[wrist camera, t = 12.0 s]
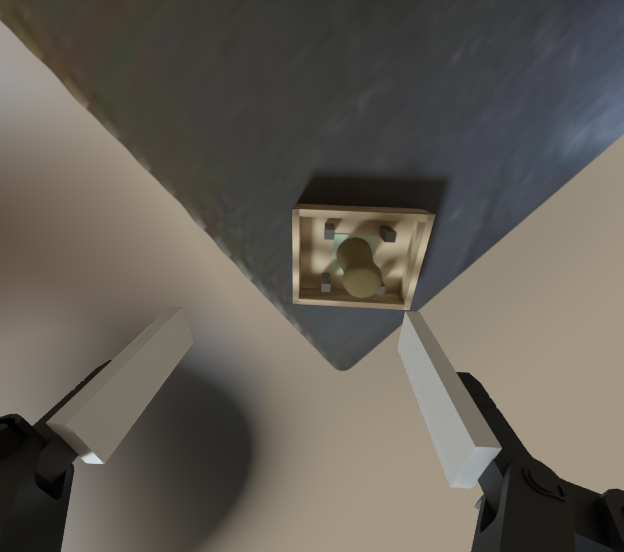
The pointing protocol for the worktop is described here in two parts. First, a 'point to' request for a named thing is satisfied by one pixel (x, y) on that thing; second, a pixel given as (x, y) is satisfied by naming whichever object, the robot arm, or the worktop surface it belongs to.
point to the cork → (358, 268)
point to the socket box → (384, 244)
